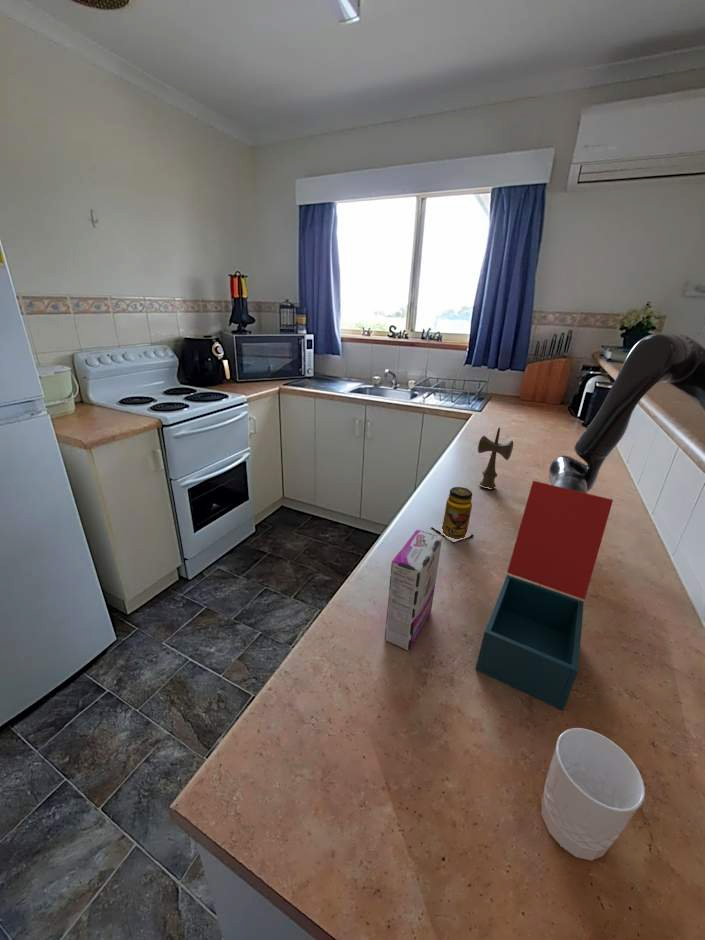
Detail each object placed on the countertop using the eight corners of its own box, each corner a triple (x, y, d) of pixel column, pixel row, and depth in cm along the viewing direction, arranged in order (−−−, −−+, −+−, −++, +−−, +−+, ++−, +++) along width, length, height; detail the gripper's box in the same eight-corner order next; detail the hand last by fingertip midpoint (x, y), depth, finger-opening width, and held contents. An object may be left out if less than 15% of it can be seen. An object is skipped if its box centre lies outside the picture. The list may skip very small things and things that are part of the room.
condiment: (453, 543, 95) (461, 499, 91) (429, 527, 102) (436, 485, 97) (474, 536, 99) (483, 493, 94) (450, 520, 106) (457, 480, 101)
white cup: (571, 880, 40) (600, 822, 36) (519, 793, 47) (540, 737, 43) (631, 854, 42) (665, 797, 38) (573, 775, 49) (597, 720, 45)
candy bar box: (406, 601, 76) (416, 527, 69) (431, 612, 74) (444, 536, 67) (381, 640, 67) (390, 559, 60) (409, 653, 65) (421, 571, 58)
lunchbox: (563, 711, 57) (578, 671, 54) (475, 669, 62) (484, 631, 59) (571, 636, 70) (583, 601, 67) (498, 607, 76) (506, 574, 73)
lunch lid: (613, 499, 66) (612, 499, 67) (532, 480, 72) (533, 481, 73) (584, 599, 66) (584, 598, 67) (507, 572, 72) (507, 572, 73)
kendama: (500, 494, 122) (514, 432, 115) (469, 486, 127) (480, 426, 119) (504, 488, 127) (518, 428, 119) (474, 480, 132) (485, 422, 124)
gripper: (537, 474, 87) (524, 504, 73) (607, 490, 81) (607, 526, 67) (530, 505, 89) (515, 539, 76) (596, 522, 83) (594, 563, 70)
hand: (558, 533), depth 71 cm, fingers closed
